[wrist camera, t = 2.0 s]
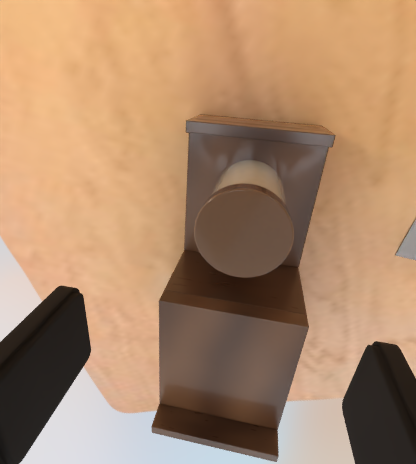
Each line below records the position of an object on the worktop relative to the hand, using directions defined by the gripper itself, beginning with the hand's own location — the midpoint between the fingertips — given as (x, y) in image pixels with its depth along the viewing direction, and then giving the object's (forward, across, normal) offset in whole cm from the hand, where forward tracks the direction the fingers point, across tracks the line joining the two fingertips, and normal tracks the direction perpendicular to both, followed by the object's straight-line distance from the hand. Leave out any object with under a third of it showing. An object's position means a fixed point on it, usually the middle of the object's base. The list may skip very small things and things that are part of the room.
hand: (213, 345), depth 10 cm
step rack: (+19, 0, +6) cm, 20 cm away
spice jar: (+15, 0, 0) cm, 15 cm away
